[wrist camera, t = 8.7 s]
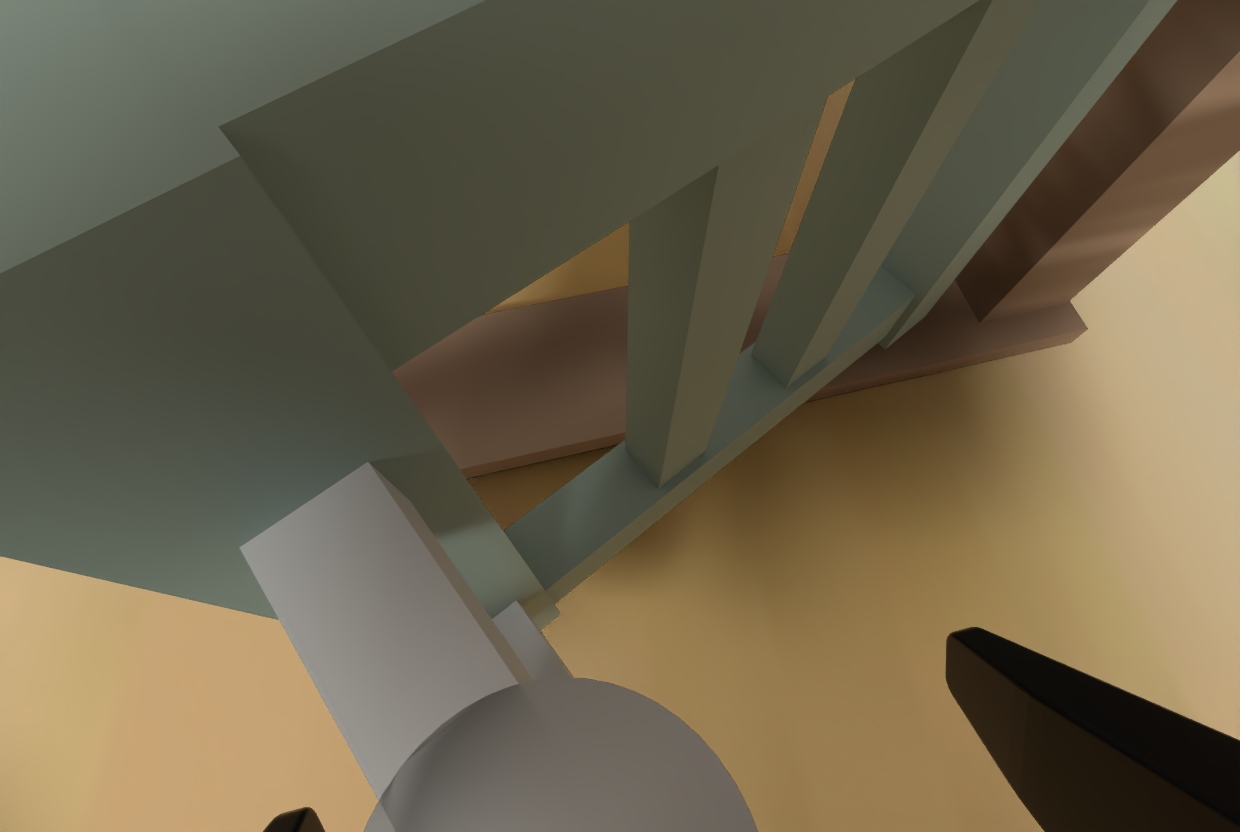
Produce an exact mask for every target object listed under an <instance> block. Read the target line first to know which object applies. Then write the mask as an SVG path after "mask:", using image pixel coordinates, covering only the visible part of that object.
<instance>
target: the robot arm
mask: <svg viewBox="0 0 1240 832" xmlns="http://www.w3.org/2000/svg"><path fill="white" fill-rule="evenodd" d="M946 681H947V684H948V687H949V690H950V692H951V693H952V695H953V697H954V698H955V700H956V701H957V703H958V705H959V706H960V708H961V709H962V711H963V712H964V714H965V716H966V717H967V719H968V720H969V722H970V723H971V725H972V726H973V728H974V730H975V731H976V733H977V734H978V736H979V737H980V739H981V740H982V742H983V744H984V745H985V747H986V748H987V750H988V751H989V753H990V754H991V756H992V758H993V759H994V761H995V762H996V764H997V765H998V767H999V768H1000V770H1001V772H1002V773H1003V775H1004V776H1005V778H1006V779H1007V781H1008V782H1009V784H1010V785H1011V787H1012V788H1013V790H1014V791H1015V793H1016V794H1017V796H1018V797H1019V799H1020V800H1021V801H1022V803H1023V804H1024V805H1025V807H1026V808H1027V809H1028V811H1029V812H1030V813H1031V815H1032V816H1033V817H1034V819H1035V820H1036V821H1037V822H1038V824H1039V825H1040V826H1041V828H1042V829H1043V830H1044V832H1240V740H1238V739H1236V738H1233V737H1231V736H1229V735H1226V734H1224V733H1222V732H1219V731H1217V730H1215V729H1213V728H1210V727H1208V726H1206V725H1203V724H1201V723H1199V722H1196V721H1194V720H1192V719H1189V718H1187V717H1185V716H1183V715H1180V714H1178V713H1176V712H1173V711H1171V710H1169V709H1166V708H1164V707H1162V706H1160V705H1157V704H1155V703H1153V702H1150V701H1148V700H1146V699H1143V698H1141V697H1139V696H1136V695H1134V694H1132V693H1130V692H1127V691H1125V690H1123V689H1120V688H1118V687H1116V686H1113V685H1111V684H1109V683H1106V682H1104V681H1102V680H1100V679H1097V678H1095V677H1093V676H1090V675H1088V674H1086V673H1083V672H1081V671H1079V670H1076V669H1074V668H1072V667H1070V666H1067V665H1065V664H1063V663H1060V662H1058V661H1056V660H1053V659H1051V658H1049V657H1046V656H1044V655H1042V654H1040V653H1037V652H1035V651H1033V650H1030V649H1028V648H1026V647H1023V646H1021V645H1019V644H1016V643H1014V642H1012V641H1010V640H1007V639H1005V638H1003V637H1000V636H998V635H996V634H993V633H991V632H989V631H986V630H984V629H981V628H978V627H970V628H966V629H963V630H959V631H955V632H952V633H950V634H949V636H948V637H947V641H946ZM263 832H325V830H324V828H323V826H322V824H321V822H320V820H319V818H318V816H317V814H316V812H315V811H314V810H313V809H312V808H310V807H304V808H300V809H297V810H293V811H289V812H285V813H282V814H280V815H278V816H277V817H275V818H274V819H273V820H272V821H271V822H270V824H269V825H268V826H267V827H266V828H265V830H264V831H263Z"/></svg>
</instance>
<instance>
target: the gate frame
mask: <svg viewBox="0 0 1240 832" xmlns="http://www.w3.org/2000/svg"><path fill="white" fill-rule="evenodd" d="M1239 150H1240V0H1177V1H1176V3H1175V4H1174V5H1173V6H1172V8H1171V9H1170V10H1169V11H1168V13H1167V14H1166V15H1165V16H1164V18H1163V19H1162V20H1161V21H1160V23H1159V24H1158V25H1157V26H1156V28H1155V29H1154V30H1153V31H1152V33H1151V34H1150V35H1149V36H1148V38H1147V39H1146V40H1145V41H1144V43H1143V44H1142V45H1141V46H1140V48H1139V49H1138V50H1137V51H1136V53H1135V54H1134V55H1133V56H1132V58H1131V59H1130V60H1129V62H1128V63H1127V64H1126V65H1125V67H1124V68H1123V69H1122V70H1121V72H1120V73H1119V74H1118V75H1117V77H1116V78H1115V79H1114V80H1113V82H1112V83H1111V84H1110V85H1109V87H1108V88H1107V89H1106V90H1105V92H1104V93H1103V94H1102V95H1101V97H1100V98H1099V99H1098V100H1097V102H1096V103H1095V104H1094V105H1093V107H1092V108H1091V109H1090V110H1089V112H1088V113H1087V114H1086V115H1085V117H1084V118H1083V119H1082V120H1081V122H1080V123H1079V124H1078V125H1077V127H1076V128H1075V129H1074V130H1073V132H1072V133H1071V134H1070V135H1069V137H1068V138H1067V139H1066V140H1065V142H1064V143H1063V144H1062V145H1061V147H1060V148H1059V149H1058V151H1057V152H1056V153H1055V154H1054V156H1053V157H1052V158H1051V159H1050V161H1049V162H1048V163H1047V164H1046V166H1045V167H1044V168H1043V169H1042V171H1041V172H1040V173H1039V174H1038V176H1037V177H1036V178H1035V179H1034V181H1033V182H1032V183H1031V184H1030V186H1029V187H1028V188H1027V189H1026V191H1025V192H1024V193H1023V194H1022V196H1021V197H1020V198H1019V199H1018V201H1017V202H1016V203H1015V204H1014V206H1013V207H1012V208H1011V209H1010V211H1009V212H1008V213H1007V214H1006V216H1005V217H1004V218H1003V219H1002V221H1001V222H1000V223H999V224H998V226H997V227H996V228H995V229H994V231H993V232H992V233H991V235H990V236H989V237H988V238H987V240H986V241H985V242H984V243H983V245H982V246H981V247H980V248H979V250H978V251H977V252H976V253H975V255H974V256H973V257H972V258H971V260H970V261H969V262H968V263H967V265H966V266H965V267H964V268H963V270H962V271H961V272H960V273H959V275H958V276H957V277H956V278H955V280H954V281H953V282H952V283H951V285H950V286H949V287H948V288H947V290H946V291H945V292H944V293H943V295H942V296H941V297H940V298H939V300H938V301H937V302H936V303H935V305H934V306H933V307H932V308H931V310H930V311H929V312H928V313H927V315H926V316H925V317H924V318H923V319H922V320H921V321H919V322H918V323H917V324H916V325H914V326H913V327H912V328H911V329H909V330H908V331H907V332H906V333H905V334H903V335H902V336H901V337H900V338H898V339H897V340H896V341H895V342H894V343H892V344H891V345H890V346H889V347H887V348H886V349H884V348H883V347H881V346H880V345H879V344H878V343H877V344H876V345H875V346H873V347H872V348H871V349H870V350H868V351H867V352H866V353H865V354H863V355H862V356H861V357H860V358H858V359H857V360H856V361H855V362H854V363H852V364H851V365H850V366H849V367H847V368H846V369H845V370H844V371H842V372H841V373H840V374H839V375H837V376H836V377H835V378H834V379H832V380H831V381H830V382H829V383H828V384H826V385H825V386H824V387H823V388H821V389H820V390H819V391H818V392H816V393H815V394H814V395H813V396H811V397H810V398H809V399H808V400H807V401H805V402H809V401H813V400H817V399H822V398H826V397H831V396H835V395H840V394H844V393H848V392H853V391H857V390H862V389H866V388H871V387H875V386H880V385H884V384H888V383H893V382H897V381H902V380H906V379H911V378H915V377H920V376H924V375H928V374H933V373H937V372H942V371H946V370H951V369H955V368H960V367H964V366H968V365H973V364H977V363H982V362H986V361H991V360H995V359H1000V358H1004V357H1008V356H1013V355H1017V354H1022V353H1026V352H1031V351H1035V350H1039V349H1044V348H1048V347H1053V346H1057V345H1062V344H1066V343H1071V342H1072V341H1074V340H1075V339H1076V338H1077V337H1079V336H1080V335H1081V334H1082V333H1084V332H1085V331H1086V330H1087V329H1088V328H1087V327H1086V325H1085V323H1084V322H1083V320H1082V319H1081V317H1080V316H1079V314H1078V313H1077V311H1076V310H1075V308H1074V307H1073V305H1072V304H1071V302H1070V300H1071V299H1072V298H1073V297H1074V296H1075V295H1077V294H1078V293H1079V292H1080V291H1081V290H1082V289H1083V288H1085V287H1086V286H1087V285H1088V284H1089V283H1090V282H1091V281H1092V280H1094V279H1095V278H1096V277H1097V276H1098V275H1099V274H1100V273H1101V272H1103V271H1104V270H1105V269H1106V268H1107V267H1108V266H1109V265H1110V264H1112V263H1113V262H1114V261H1115V260H1116V259H1117V258H1118V257H1120V256H1121V255H1122V254H1123V253H1124V252H1125V251H1126V250H1127V249H1129V248H1130V247H1131V246H1132V245H1133V244H1134V243H1135V242H1136V241H1138V240H1139V239H1140V238H1141V237H1142V236H1143V235H1144V234H1146V233H1147V232H1148V231H1149V230H1150V229H1151V228H1152V227H1153V226H1155V225H1156V224H1157V223H1158V222H1159V221H1160V220H1161V219H1162V218H1164V217H1165V216H1166V215H1167V214H1168V213H1169V212H1170V211H1171V210H1173V209H1174V208H1175V207H1176V206H1177V205H1178V204H1179V203H1181V202H1182V201H1183V200H1184V199H1185V198H1186V197H1187V196H1188V195H1190V194H1191V193H1192V192H1193V191H1194V190H1195V189H1196V188H1197V187H1199V186H1200V185H1201V184H1202V183H1203V182H1204V181H1205V180H1207V179H1208V178H1209V177H1210V176H1211V175H1212V174H1213V173H1214V172H1216V171H1217V170H1218V169H1219V168H1220V167H1221V166H1222V165H1223V164H1225V163H1226V162H1227V161H1228V160H1229V159H1230V158H1231V157H1232V156H1234V155H1235V154H1236V153H1237V152H1238V151H1239ZM788 256H789V254H785V255H780V256H775V257H773V258H772V261H771V263H770V266H769V269H768V272H767V275H766V278H765V281H764V284H763V287H762V289H761V292H760V295H759V298H758V301H757V304H756V307H755V310H754V313H753V316H752V318H751V321H750V324H749V327H748V330H747V333H746V336H745V339H744V342H743V345H742V347H741V350H740V353H741V352H743V351H744V350H745V349H747V348H748V347H749V346H751V345H752V344H753V343H755V342H756V340H757V337H758V335H759V332H760V330H761V327H762V324H763V322H764V319H765V316H766V314H767V311H768V308H769V306H770V303H771V301H772V298H773V295H774V293H775V290H776V287H777V285H778V282H779V279H780V277H781V274H782V272H783V269H784V266H785V264H786V261H787V258H788ZM627 333H628V286H624V287H619V288H614V289H609V290H604V291H599V292H594V293H589V294H584V295H579V296H574V297H569V298H564V299H559V300H554V301H549V302H544V303H539V304H534V305H529V306H524V307H519V308H514V309H509V310H504V311H499V312H494V313H489V314H484V315H481V316H479V317H477V318H476V319H474V320H473V321H471V322H469V323H468V324H466V325H465V326H463V327H462V328H460V329H458V330H457V331H455V332H454V333H452V334H450V335H449V336H447V337H446V338H444V339H443V340H441V341H439V342H438V343H436V344H435V345H433V346H431V347H430V348H428V349H427V350H425V351H424V352H422V353H420V354H419V355H417V356H416V357H414V358H412V359H411V360H409V361H408V362H406V363H405V364H403V365H401V366H400V367H398V368H397V369H395V370H393V371H392V373H393V374H394V376H395V377H396V379H397V380H398V382H399V383H400V384H401V386H402V387H403V389H404V390H405V392H406V393H407V394H408V396H409V397H410V399H411V400H412V402H413V403H414V404H415V406H416V407H417V409H418V410H419V412H420V413H421V414H422V416H423V417H424V419H425V420H426V421H427V423H428V424H429V426H430V427H431V429H432V430H433V431H434V433H435V434H436V436H437V437H438V439H439V440H440V441H441V443H442V444H443V446H444V447H445V449H446V450H447V451H448V453H449V454H450V456H451V457H452V459H453V460H454V461H455V463H456V464H457V466H458V467H459V469H460V470H461V471H462V473H463V474H464V476H465V477H466V478H471V477H475V476H480V475H484V474H489V473H493V472H498V471H502V470H506V469H511V468H515V467H520V466H524V465H529V464H533V463H538V462H542V461H546V460H551V459H555V458H560V457H564V456H569V455H573V454H578V453H582V452H586V451H591V450H595V449H600V448H604V447H609V446H613V445H618V444H620V443H621V442H623V441H624V440H625V437H626V385H627ZM740 353H739V354H740Z"/></svg>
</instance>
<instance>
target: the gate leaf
mask: <svg viewBox="0 0 1240 832" xmlns="http://www.w3.org/2000/svg"><path fill="white" fill-rule="evenodd" d="M1176 1H1177V0H0V556H2V557H6V558H11V559H15V560H19V561H24V562H28V563H32V564H37V565H41V566H46V567H50V568H54V569H59V570H63V571H67V572H72V573H76V574H80V575H85V576H89V577H94V578H98V579H102V580H107V581H111V582H115V583H120V584H124V585H128V586H133V587H137V588H142V589H146V590H150V591H155V592H159V593H163V594H168V595H172V596H176V597H181V598H185V599H189V600H194V601H198V602H203V603H207V604H211V605H216V606H220V607H224V608H229V609H233V610H237V611H242V612H246V613H251V614H255V615H259V616H264V617H268V618H272V619H277V620H280V622H281V624H282V626H283V628H284V630H285V631H286V633H287V635H288V637H289V639H290V640H291V642H292V644H293V646H294V648H295V650H296V651H297V653H298V655H299V657H300V659H301V660H302V662H303V664H304V666H305V668H306V669H307V671H308V673H309V675H310V677H311V679H312V680H313V682H314V684H315V686H316V688H317V689H318V691H319V693H320V695H321V697H322V699H323V700H324V702H325V704H326V706H327V708H328V709H329V711H330V713H331V715H332V717H333V718H334V720H335V722H336V724H337V726H338V728H339V729H340V731H341V733H342V735H343V737H344V738H345V740H346V742H347V744H348V746H349V748H350V749H351V751H352V753H353V755H354V757H355V758H356V760H357V762H358V764H359V766H360V768H361V769H362V771H363V773H364V775H365V777H366V778H367V780H368V782H369V784H370V786H371V787H372V789H373V791H374V793H375V795H376V797H377V798H378V800H379V801H378V803H377V805H376V807H375V809H374V811H373V813H372V814H371V816H370V818H369V820H368V822H367V825H366V827H365V830H364V832H758V831H757V828H756V825H755V823H754V820H753V818H752V815H751V812H750V810H749V808H748V806H747V804H746V802H745V800H744V798H743V796H742V795H741V793H740V791H739V789H738V787H737V785H736V783H735V781H734V780H733V778H732V777H731V776H730V774H729V773H728V771H727V770H726V768H725V767H724V765H723V764H722V762H721V761H720V759H719V758H718V757H717V755H716V754H715V753H714V752H713V751H712V750H711V749H710V747H709V746H708V745H707V744H706V743H705V742H704V740H703V739H702V738H701V737H700V736H699V735H698V734H697V733H696V732H695V731H693V730H692V729H691V728H690V727H689V726H688V725H687V724H686V723H685V722H683V721H682V720H681V719H680V718H679V717H677V716H676V715H675V714H673V713H672V712H670V711H669V710H667V709H666V708H664V707H663V706H661V705H660V704H658V703H657V702H655V701H653V700H651V699H649V698H647V697H645V696H643V695H641V694H639V693H637V692H635V691H632V690H630V689H627V688H624V687H621V686H618V685H615V684H612V683H608V682H602V681H597V680H592V679H587V678H574V677H573V676H572V674H571V673H570V671H569V670H568V669H567V667H566V666H565V664H564V663H563V662H562V660H561V659H560V657H559V656H558V655H557V653H556V652H555V650H554V649H553V648H552V646H551V645H550V643H549V642H548V641H547V639H546V638H545V636H544V635H543V634H542V632H541V630H542V629H543V628H544V627H545V626H547V625H548V624H549V623H550V622H552V621H553V620H554V619H555V618H557V617H558V616H559V615H560V614H561V613H560V611H559V610H558V608H557V607H556V606H555V603H557V602H558V601H559V600H560V599H561V598H563V597H564V596H565V595H566V594H568V593H569V592H570V591H571V590H573V589H574V588H575V587H576V586H578V585H579V584H580V583H581V582H583V581H584V580H585V579H586V578H587V577H589V576H590V575H591V574H592V573H594V572H595V571H596V570H597V569H599V568H600V567H601V566H602V565H604V564H605V563H606V562H607V561H608V560H610V559H611V558H612V557H613V556H615V555H616V554H617V553H618V552H620V551H621V550H622V549H623V548H625V547H626V546H627V545H628V544H630V543H631V542H632V541H633V540H634V539H636V538H637V537H638V536H639V535H641V534H642V533H643V532H644V531H646V530H647V529H648V528H649V527H651V526H652V525H653V524H654V523H656V522H657V521H658V520H659V519H660V518H662V517H663V516H664V515H665V514H667V513H668V512H669V511H670V510H672V509H673V508H674V507H675V506H677V505H678V504H679V503H680V502H682V501H683V500H684V499H685V498H686V497H688V496H689V495H690V494H691V493H693V492H694V491H695V490H696V489H698V488H699V487H700V486H701V485H703V484H704V483H705V482H706V481H707V480H709V479H710V478H711V477H712V476H714V475H715V474H716V473H717V472H719V471H720V470H721V469H722V468H724V467H725V466H726V465H727V464H729V463H730V462H731V461H732V460H733V459H735V458H736V457H737V456H738V455H740V454H741V453H742V452H743V451H745V450H746V449H747V448H748V447H750V446H751V445H752V444H753V443H755V442H756V441H757V440H758V439H759V438H761V437H762V436H763V435H764V434H766V433H767V432H768V431H769V430H771V429H772V428H773V427H774V426H776V425H777V424H778V423H779V422H781V421H782V420H783V419H784V418H785V417H787V416H788V415H789V414H790V413H792V412H793V411H794V410H795V409H797V408H798V407H799V406H800V405H802V404H803V403H804V402H805V401H807V400H808V399H809V398H810V397H811V396H813V395H814V394H815V393H816V392H818V391H819V390H820V389H821V388H823V387H824V386H825V385H826V384H828V383H829V382H830V381H831V380H832V379H834V378H835V377H836V376H837V375H839V374H840V373H841V372H842V371H844V370H845V369H846V368H847V367H849V366H850V365H851V364H852V363H854V362H855V361H856V360H857V359H858V358H860V357H861V356H862V355H863V354H865V353H866V352H867V351H868V350H870V349H871V348H872V347H873V346H875V345H876V344H877V343H878V344H879V345H880V346H881V347H883V348H884V349H886V348H887V347H889V346H890V345H891V344H892V343H894V342H895V341H896V340H897V339H898V338H900V337H901V336H902V335H903V334H905V333H906V332H907V331H908V330H909V329H911V328H912V327H913V326H914V325H916V324H917V323H918V322H919V321H921V320H922V319H923V318H924V317H925V316H926V315H927V313H928V312H929V311H930V310H931V308H932V307H933V306H934V305H935V303H936V302H937V301H938V300H939V298H940V297H941V296H942V295H943V293H944V292H945V291H946V290H947V288H948V287H949V286H950V285H951V283H952V282H953V281H954V280H955V278H956V277H957V276H958V275H959V273H960V272H961V271H962V270H963V268H964V267H965V266H966V265H967V263H968V262H969V261H970V260H971V258H972V257H973V256H974V255H975V253H976V252H977V251H978V250H979V248H980V247H981V246H982V245H983V243H984V242H985V241H986V240H987V238H988V237H989V236H990V235H991V233H992V232H993V231H994V229H995V228H996V227H997V226H998V224H999V223H1000V222H1001V221H1002V219H1003V218H1004V217H1005V216H1006V214H1007V213H1008V212H1009V211H1010V209H1011V208H1012V207H1013V206H1014V204H1015V203H1016V202H1017V201H1018V199H1019V198H1020V197H1021V196H1022V194H1023V193H1024V192H1025V191H1026V189H1027V188H1028V187H1029V186H1030V184H1031V183H1032V182H1033V181H1034V179H1035V178H1036V177H1037V176H1038V174H1039V173H1040V172H1041V171H1042V169H1043V168H1044V167H1045V166H1046V164H1047V163H1048V162H1049V161H1050V159H1051V158H1052V157H1053V156H1054V154H1055V153H1056V152H1057V151H1058V149H1059V148H1060V147H1061V145H1062V144H1063V143H1064V142H1065V140H1066V139H1067V138H1068V137H1069V135H1070V134H1071V133H1072V132H1073V130H1074V129H1075V128H1076V127H1077V125H1078V124H1079V123H1080V122H1081V120H1082V119H1083V118H1084V117H1085V115H1086V114H1087V113H1088V112H1089V110H1090V109H1091V108H1092V107H1093V105H1094V104H1095V103H1096V102H1097V100H1098V99H1099V98H1100V97H1101V95H1102V94H1103V93H1104V92H1105V90H1106V89H1107V88H1108V87H1109V85H1110V84H1111V83H1112V82H1113V80H1114V79H1115V78H1116V77H1117V75H1118V74H1119V73H1120V72H1121V70H1122V69H1123V68H1124V67H1125V65H1126V64H1127V63H1128V62H1129V60H1130V59H1131V58H1132V56H1133V55H1134V54H1135V53H1136V51H1137V50H1138V49H1139V48H1140V46H1141V45H1142V44H1143V43H1144V41H1145V40H1146V39H1147V38H1148V36H1149V35H1150V34H1151V33H1152V31H1153V30H1154V29H1155V28H1156V26H1157V25H1158V24H1159V23H1160V21H1161V20H1162V19H1163V18H1164V16H1165V15H1166V14H1167V13H1168V11H1169V10H1170V9H1171V8H1172V6H1173V5H1174V4H1175V3H1176ZM854 79H855V82H854V84H853V87H852V90H851V92H850V95H849V98H848V100H847V103H846V106H845V108H844V111H843V113H842V116H841V119H840V121H839V124H838V127H837V129H836V132H835V135H834V137H833V140H832V142H831V145H830V148H829V150H828V153H827V156H826V158H825V161H824V164H823V166H822V169H821V171H820V174H819V177H818V179H817V182H816V185H815V187H814V190H813V192H812V195H811V198H810V200H809V203H808V206H807V208H806V211H805V214H804V216H803V219H802V221H801V224H800V227H799V229H798V232H797V235H796V237H795V240H794V243H793V245H792V248H791V250H790V253H789V256H788V258H787V261H786V264H785V266H784V269H783V272H782V274H781V277H780V279H779V282H778V285H777V287H776V290H775V293H774V295H773V298H772V301H771V303H770V306H769V308H768V311H767V314H766V316H765V319H764V322H763V324H762V327H761V330H760V332H759V335H758V337H757V340H756V342H755V343H753V344H752V345H751V346H749V347H748V348H747V349H745V350H744V351H743V352H741V353H740V350H741V347H742V345H743V342H744V339H745V336H746V333H747V330H748V327H749V324H750V321H751V318H752V316H753V313H754V310H755V307H756V304H757V301H758V298H759V295H760V292H761V289H762V287H763V284H764V281H765V278H766V275H767V272H768V269H769V266H770V263H771V261H772V258H773V255H774V252H775V249H776V246H777V243H778V240H779V237H780V234H781V232H782V229H783V226H784V223H785V220H786V217H787V214H788V211H789V208H790V205H791V203H792V200H793V197H794V194H795V191H796V188H797V185H798V182H799V179H800V176H801V174H802V171H803V168H804V165H805V162H806V159H807V156H808V153H809V150H810V147H811V145H812V142H813V139H814V136H815V133H816V130H817V127H818V124H819V121H820V118H821V116H822V113H823V110H824V107H825V104H826V101H827V98H828V96H829V95H830V94H832V93H834V92H835V91H837V90H838V89H840V88H841V87H843V86H845V85H846V84H848V83H849V82H851V81H853V80H854ZM629 221H630V228H629V280H628V333H627V385H626V437H625V440H624V441H623V442H621V443H620V444H619V445H617V446H616V447H615V448H613V449H612V450H611V451H609V452H608V453H607V454H605V455H604V456H603V457H601V458H600V459H599V460H597V461H596V462H595V463H593V464H592V465H591V466H589V467H588V468H587V469H585V470H584V471H583V472H581V473H580V474H579V475H577V476H576V477H575V478H573V479H572V480H571V481H569V482H568V483H567V484H565V485H564V486H563V487H561V488H560V489H559V490H557V491H556V492H555V493H553V494H552V495H551V496H549V497H548V498H547V499H545V500H544V501H543V502H541V503H540V504H539V505H537V506H536V507H535V508H533V509H532V510H531V511H529V512H528V513H526V514H525V515H524V516H522V517H521V518H520V519H518V520H517V521H516V522H514V523H513V524H512V525H510V526H509V527H508V528H506V529H505V530H504V531H503V530H502V529H501V527H500V526H499V524H498V523H497V521H496V520H495V519H494V517H493V516H492V514H491V513H490V511H489V510H488V509H487V507H486V506H485V504H484V503H483V501H482V500H481V499H480V497H479V496H478V494H477V493H476V491H475V490H474V489H473V487H472V486H471V484H470V483H469V481H468V480H467V479H466V477H465V476H464V474H463V473H462V471H461V470H460V469H459V467H458V466H457V464H456V463H455V461H454V460H453V459H452V457H451V456H450V454H449V453H448V451H447V450H446V449H445V447H444V446H443V444H442V443H441V441H440V440H439V439H438V437H437V436H436V434H435V433H434V431H433V430H432V429H431V427H430V426H429V424H428V423H427V421H426V420H425V419H424V417H423V416H422V414H421V413H420V412H419V410H418V409H417V407H416V406H415V404H414V403H413V402H412V400H411V399H410V397H409V396H408V394H407V393H406V392H405V390H404V389H403V387H402V386H401V384H400V383H399V382H398V380H397V379H396V377H395V376H394V374H393V373H392V371H393V370H395V369H397V368H398V367H400V366H401V365H403V364H405V363H406V362H408V361H409V360H411V359H412V358H414V357H416V356H417V355H419V354H420V353H422V352H424V351H425V350H427V349H428V348H430V347H431V346H433V345H435V344H436V343H438V342H439V341H441V340H443V339H444V338H446V337H447V336H449V335H450V334H452V333H454V332H455V331H457V330H458V329H460V328H462V327H463V326H465V325H466V324H468V323H469V322H471V321H473V320H474V319H476V318H477V317H479V316H481V315H482V314H484V313H485V312H487V311H488V310H490V309H492V308H493V307H495V306H496V305H498V304H500V303H501V302H503V301H504V300H506V299H507V298H509V297H511V296H512V295H514V294H515V293H517V292H519V291H520V290H522V289H523V288H525V287H526V286H528V285H530V284H531V283H533V282H534V281H536V280H538V279H539V278H541V277H542V276H544V275H545V274H547V273H549V272H550V271H552V270H553V269H555V268H557V267H558V266H560V265H561V264H563V263H564V262H566V261H568V260H569V259H571V258H572V257H574V256H576V255H577V254H579V253H580V252H582V251H583V250H585V249H587V248H588V247H590V246H591V245H593V244H595V243H596V242H598V241H599V240H601V239H602V238H604V237H606V236H607V235H609V234H610V233H612V232H614V231H615V230H617V229H618V228H620V227H621V226H623V225H625V224H626V223H628V222H629ZM739 353H740V354H739Z"/></svg>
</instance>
